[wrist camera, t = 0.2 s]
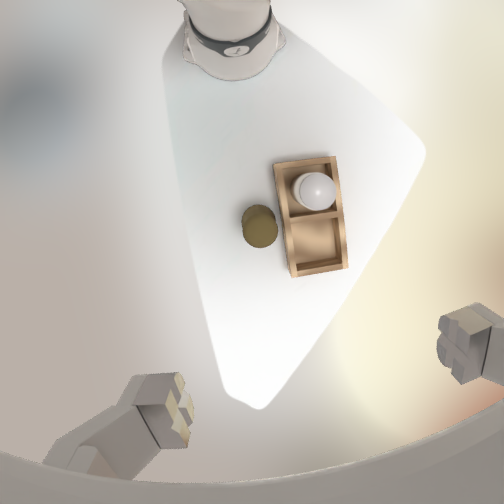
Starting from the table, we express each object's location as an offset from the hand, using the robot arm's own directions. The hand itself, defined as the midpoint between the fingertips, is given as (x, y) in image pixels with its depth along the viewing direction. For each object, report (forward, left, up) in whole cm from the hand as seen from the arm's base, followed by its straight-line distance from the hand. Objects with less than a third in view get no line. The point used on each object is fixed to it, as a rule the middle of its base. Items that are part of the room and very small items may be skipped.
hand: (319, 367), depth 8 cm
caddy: (+2, +8, -47) cm, 48 cm away
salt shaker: (-2, +8, -46) cm, 47 cm away
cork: (+2, -1, -47) cm, 47 cm away
